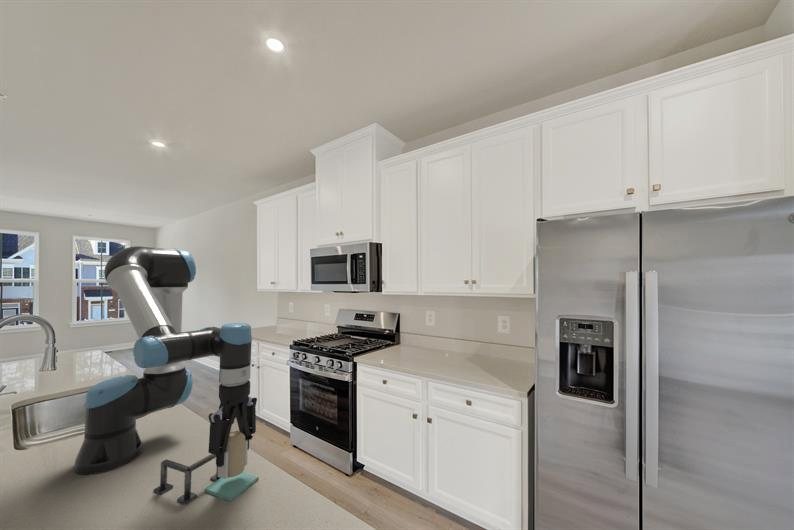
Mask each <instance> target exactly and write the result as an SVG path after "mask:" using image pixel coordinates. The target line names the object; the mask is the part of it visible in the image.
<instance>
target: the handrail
mask: <svg viewBox="0 0 794 530" xmlns="http://www.w3.org/2000/svg"><path fill="white" fill-rule="evenodd" d="M214 459H216V455H214V454H211V453H209V455H207V456H205V457H204V458H201V459H200V460H198V461H196V462H195V463H193V464H191V465H188V466H187V465H185V464H181V463H180V462H179V463H178V462H175V461H174V460H170V459H166V458H165V459H164V460H162V461H161V462H160V479H159V480H160V483H159V486H157V487H155V488H153V490H152V492H153V493H156V494H157V495H160V496H162V495H163V494H165V493H167V492H168V491H170V490H172V489H174V485H173V484H171V483H168V468H170V469H172V470H175V471H178V472H181V473H184V483H183V484H184V485H183V486H184V487H183V488H184V489H183V494H182V495H181V496H179V497H177V499H176V500H177V501H176V502H178V503H181V504H183V505H187V504H189V503H190V502H191V501H193V500H195V499H196V498H197V497H198V494H197V493H195V492H192V472H193V471H195V470H196V469H199V468H201V467H202V466H203V465H204V466H205V464H207V463H209V462H211V461H212V460H214ZM209 479H210V481H213V482H215V481H217V480H219V479H220V477H218V466H216V474H214V475H213V476H211V477H210V478H209Z"/></svg>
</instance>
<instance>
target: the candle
mask: <svg viewBox="0 0 794 530" xmlns="http://www.w3.org/2000/svg"><path fill="white" fill-rule="evenodd" d="M226 451H228V477H234V476H237V475H239V474H241V473H242V472H244V470H245V466H244V465H245V435H244V434H242V433H241V432H240V431H239V430H235V431H230V435H229V439H228V443H227V447H226Z"/></svg>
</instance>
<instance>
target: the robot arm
mask: <svg viewBox="0 0 794 530" xmlns="http://www.w3.org/2000/svg"><path fill="white" fill-rule="evenodd" d="M103 274H104V275H103V276H104V279H105V282H106V285H107V286H108V287H109V288H110V289H111V290H114V291H115V292H116V293H117V295H118V298H119V300H120V302H121V304H122V306H123V308H124V310H125V312H126V314H127V316H128V318H129V321H130V324H132V325H131V326H133V329H134V330H135V333H136V335H137V337H138V339H137V340H136V341H135V343H134V345H133V350H132V352H133V357H134V359H133V360H134V362H135V363H134V364H135V365H136V367H138V368H142V369H143V370H142V371H143V374H142V375H143V376H142V377H141V378H138V376H136V375H134V374H127V375H123V376H122V375H121V376H115V377H112V378H109V379H106V380H102V381H100V382H98V383H96V384H94V385H93V386H91V387H90V388H89V389H88V391H87V392H86V396H85V397H86V399H85V403H84V408H85V411H84V413H85V414H84V417H85V418H84V434H83V435H84V437H83V440H82V441H83V442H82V444H81V446H80V448H79V451H78V453H77V456H76V458H75V460H74V472H75V473H77V474H81V475H91V474H92V475H93V474H99V473H105V472H108V471H112V470H115V469H118V468H120V467H123V466H125V465H127V464H129V463H131V462H133V461H135V460H136V459H137V458H138V457H140V455H141V454H142V453H143V443H142V440H141V438H140V435H139V433H138V430H137V427H136V426H137V418H139V417H143V416H145V415H149V414H153V413H155V412H159V411H162V410H167V409H171V408H173V407H175V406H178V405H181V404H183V403H185V402H186V400H188V399H189V398H190V395H191V394H192V390H193V382H194V379H193V377H192V371H191V370H190V369H189V368H186V363H184V362H185V361H186V362H187V361H191V360H197V359H198V360H199V359H202V358H203V359H204V358H207V357H211V356H212V357H218V358H219V377H218V383H220V384H219V385H218V399H219V401H220V402H219V403H220V404H219V407H218V409H217V411H215V412H214V413H212V412H211V413H209V414H208V421H209V437H208V438H209V439H208V451H207V452H208V454H214V455H216V458H215V467H217V466H218V477H220V478H223V479H226V478H228V451H226V447H227V443H228V439H229V435H230V432H231V430H232V425H233V424H234V423H235V419H236V423H237V426H238V427H237V428H238V431H240V432H241V433H242V434H244V435H245V465H244V467H246V466H247V465H248V454H249V453H248V451H249V449H250V441H251V440H252V439H253V437H254V436H253V435H254V434H256V432H257V429H256V428H257V426H256V425H257V422H256V421H257V417H256V413H257V411H256V406H257V402H258V398H257V397H254V396H250V394H251V370H252V369H251V367H252V366H251V364H252V363H251V362H252V341H253V337H252V326H251V325H250V324H249V323H247V322H231V323H225V324H223V325H222V326H220V327H217V326H207V327H203V328H201V329H198V330H191V331H184V332H183V331H182V326H183V325H182V324H183V323H182V321H183V318H182V317H183V293H184V291H186V290H187V289H188V287H189V283H192V282H193V281H194V279H195V278H196V274H197V266H196V262H195V258H194V257H193V256H192V254H191V253H190V251H187V250H184V249H179V248H167V247H149V246H138V245H136V246H131V247H130V246H129V247H125V248H123V249H121V250H119V251H118V252H115V253H114V254H113V255H112V256H111V257H110V258H109V260H108V261H107V262H106V263H105V267H104V271H103Z"/></svg>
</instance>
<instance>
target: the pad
mask: <svg viewBox="0 0 794 530" xmlns="http://www.w3.org/2000/svg"><path fill="white" fill-rule="evenodd" d="M257 481H259V476H257V475H253V474H250V473H247V472H244V471H243V472H242V473H241V474H239V475H237V476H234V477H228V478H226V479H223V478H220V479H219V480H217V481H213V483H211V484H209V485H207V486H206V487H205V488H204V493H207V494H209V495H212V496H215V497H218V498H221V499H223V500H225V501H229V502H231V501H232V500H234V499H235V498H237V497H238V496H239V495H240V494H242V493H244V492H245V491H246V490H247V489H248V488H250V487H251V486H252V485H254V484H255V483H256V482H257Z"/></svg>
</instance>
